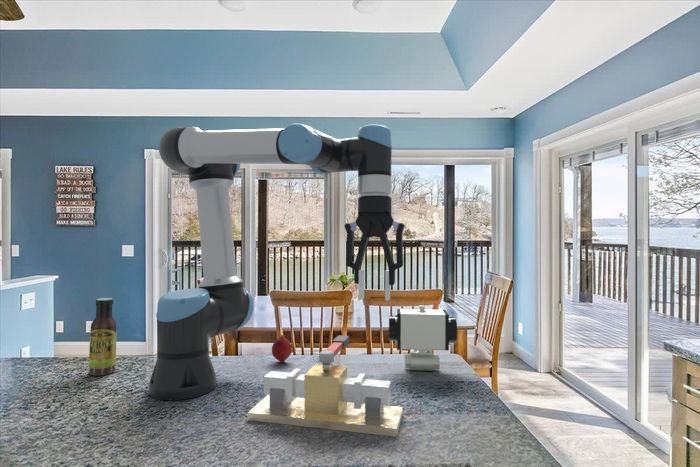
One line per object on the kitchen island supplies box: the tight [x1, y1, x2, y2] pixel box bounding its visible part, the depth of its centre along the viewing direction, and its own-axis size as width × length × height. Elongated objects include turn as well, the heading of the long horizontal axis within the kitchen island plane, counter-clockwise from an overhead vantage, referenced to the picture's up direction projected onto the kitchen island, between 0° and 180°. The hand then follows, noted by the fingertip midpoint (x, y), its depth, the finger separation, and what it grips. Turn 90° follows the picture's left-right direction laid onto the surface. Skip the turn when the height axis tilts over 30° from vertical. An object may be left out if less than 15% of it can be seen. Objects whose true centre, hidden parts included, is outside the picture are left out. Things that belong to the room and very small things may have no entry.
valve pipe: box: [247, 363, 404, 438], centre depth 86 cm, size 30×10×11 cm, turn 77°
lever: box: [318, 334, 350, 364], centre depth 92 cm, size 16×3×2 cm, turn 167°
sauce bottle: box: [88, 297, 118, 376], centre depth 113 cm, size 6×6×20 cm
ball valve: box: [388, 304, 458, 372], centre depth 116 cm, size 18×8×18 cm, turn 84°
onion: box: [271, 334, 293, 363], centre depth 122 cm, size 6×6×8 cm
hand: (374, 298), depth 95 cm, fingers open, 5 cm apart
